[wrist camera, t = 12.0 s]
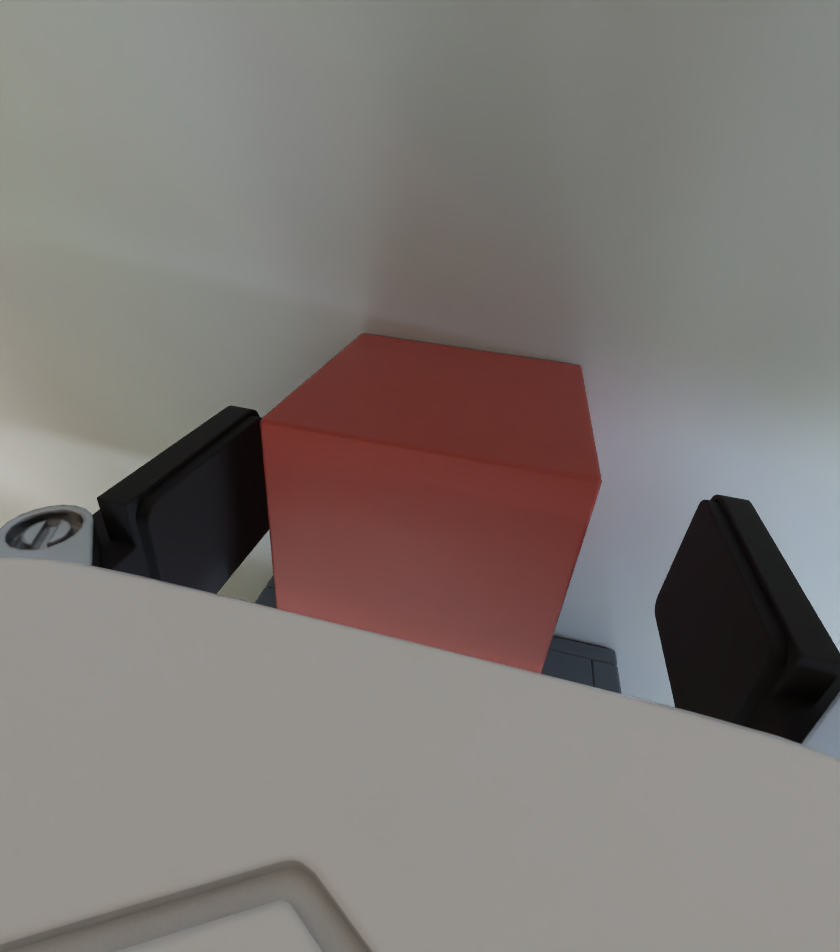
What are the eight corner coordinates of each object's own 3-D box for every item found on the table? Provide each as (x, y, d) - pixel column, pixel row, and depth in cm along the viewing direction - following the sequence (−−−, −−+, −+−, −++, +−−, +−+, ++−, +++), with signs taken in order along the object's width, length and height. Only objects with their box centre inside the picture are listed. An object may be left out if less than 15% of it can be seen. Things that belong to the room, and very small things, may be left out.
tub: (616, 649, 16) (652, 898, 11) (540, 828, 22) (538, 1047, 17) (273, 574, 18) (147, 756, 12) (290, 760, 24) (211, 939, 18)
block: (581, 364, 12) (603, 480, 7) (535, 543, 15) (530, 708, 10) (361, 332, 13) (257, 419, 8) (357, 509, 16) (278, 647, 11)
